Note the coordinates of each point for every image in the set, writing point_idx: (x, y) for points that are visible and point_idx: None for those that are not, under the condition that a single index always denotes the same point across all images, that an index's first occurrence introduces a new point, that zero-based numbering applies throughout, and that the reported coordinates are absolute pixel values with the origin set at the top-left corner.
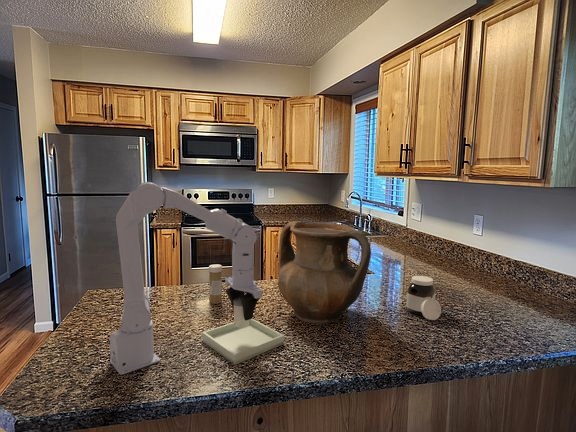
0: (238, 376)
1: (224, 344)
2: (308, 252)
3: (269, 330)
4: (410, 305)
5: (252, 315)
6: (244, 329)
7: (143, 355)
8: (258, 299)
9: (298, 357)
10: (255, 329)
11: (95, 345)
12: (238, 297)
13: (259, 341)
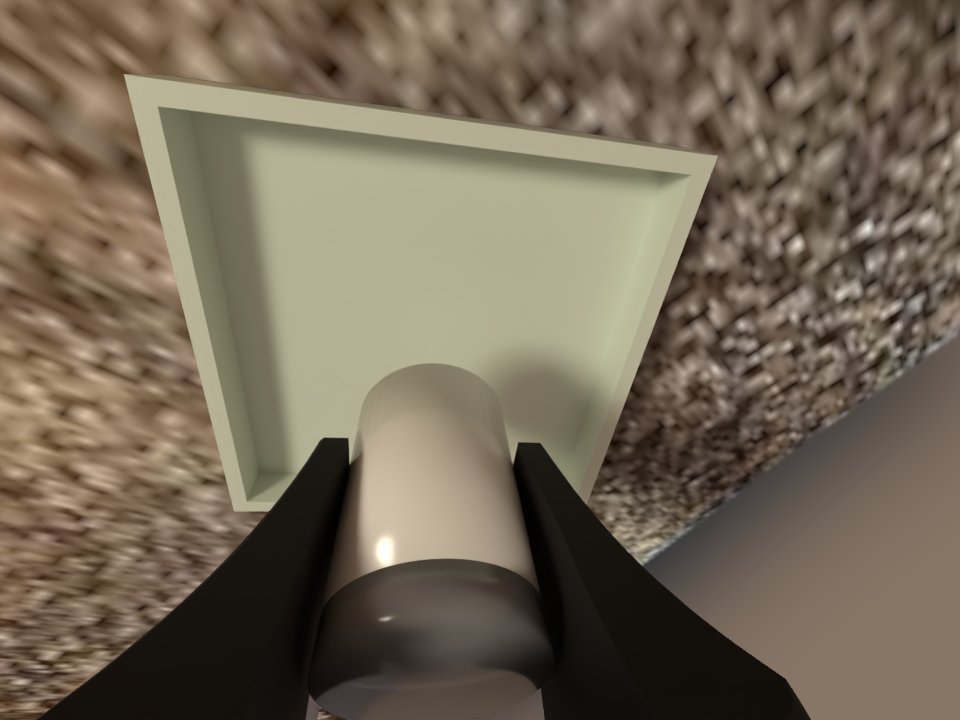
0: (637, 499)
1: None
2: None
3: (532, 153)
4: None
5: (554, 466)
6: (292, 231)
7: None
8: (728, 648)
9: (836, 220)
10: (354, 159)
11: (52, 698)
12: (321, 679)
13: (535, 283)
